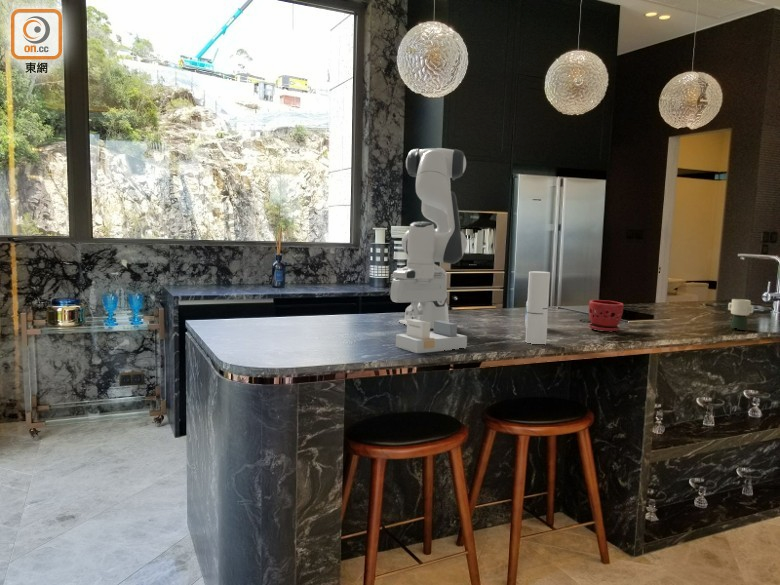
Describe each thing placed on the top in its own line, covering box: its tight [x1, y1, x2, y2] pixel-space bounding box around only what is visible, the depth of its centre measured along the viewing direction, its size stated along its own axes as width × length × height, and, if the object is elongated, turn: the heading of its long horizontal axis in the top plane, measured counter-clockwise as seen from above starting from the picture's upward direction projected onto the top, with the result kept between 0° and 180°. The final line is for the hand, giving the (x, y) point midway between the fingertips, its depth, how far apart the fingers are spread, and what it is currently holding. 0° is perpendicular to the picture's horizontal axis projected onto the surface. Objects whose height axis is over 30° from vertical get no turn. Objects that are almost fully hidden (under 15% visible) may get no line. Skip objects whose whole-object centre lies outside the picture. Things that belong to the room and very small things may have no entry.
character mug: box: [727, 298, 755, 330], centre depth 255 cm, size 11×7×13 cm, turn 27°
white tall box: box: [524, 270, 551, 345], centre depth 209 cm, size 7×7×25 cm
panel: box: [406, 319, 431, 339], centre depth 193 cm, size 9×3×8 cm, turn 33°
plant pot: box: [588, 299, 624, 332], centre depth 242 cm, size 13×13×12 cm
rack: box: [395, 320, 468, 354], centre depth 196 cm, size 12×20×8 cm, turn 123°
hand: (418, 315), depth 192 cm, fingers closed
